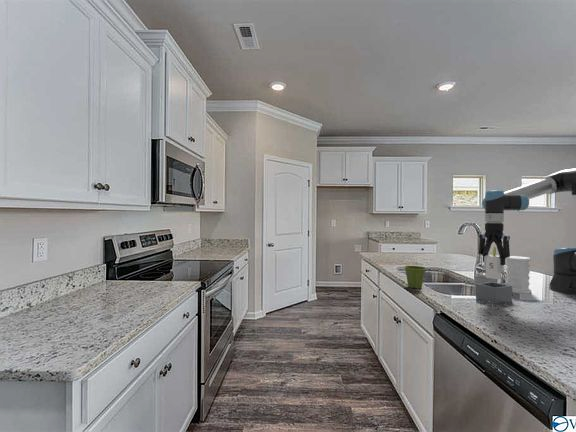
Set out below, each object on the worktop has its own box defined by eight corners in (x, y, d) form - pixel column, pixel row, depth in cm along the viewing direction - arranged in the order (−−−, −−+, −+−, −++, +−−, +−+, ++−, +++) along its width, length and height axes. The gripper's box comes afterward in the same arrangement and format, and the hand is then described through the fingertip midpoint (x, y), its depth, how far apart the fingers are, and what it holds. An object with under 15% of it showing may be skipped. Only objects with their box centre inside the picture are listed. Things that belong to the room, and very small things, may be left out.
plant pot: (420, 290, 172) (420, 270, 172) (400, 287, 181) (400, 267, 181) (430, 287, 180) (430, 267, 180) (410, 283, 189) (410, 264, 189)
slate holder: (491, 296, 161) (491, 281, 161) (511, 301, 151) (512, 286, 151) (476, 298, 157) (476, 283, 156) (496, 304, 147) (496, 288, 147)
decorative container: (499, 289, 175) (499, 256, 174) (513, 287, 179) (513, 255, 179) (522, 294, 164) (522, 259, 164) (536, 292, 168) (536, 258, 168)
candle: (483, 277, 154) (484, 246, 154) (488, 275, 158) (488, 245, 158) (498, 279, 149) (499, 247, 149) (503, 277, 153) (503, 246, 153)
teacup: (476, 292, 169) (476, 277, 169) (472, 287, 179) (472, 273, 179) (507, 294, 164) (507, 278, 164) (501, 289, 175) (501, 275, 175)
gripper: (470, 222, 161) (469, 267, 161) (509, 223, 143) (508, 274, 143) (480, 221, 164) (480, 266, 164) (520, 223, 146) (519, 273, 146)
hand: (493, 270), depth 154 cm, fingers closed on candle, 6 cm apart
